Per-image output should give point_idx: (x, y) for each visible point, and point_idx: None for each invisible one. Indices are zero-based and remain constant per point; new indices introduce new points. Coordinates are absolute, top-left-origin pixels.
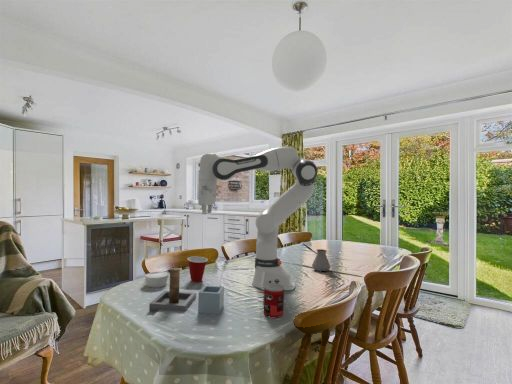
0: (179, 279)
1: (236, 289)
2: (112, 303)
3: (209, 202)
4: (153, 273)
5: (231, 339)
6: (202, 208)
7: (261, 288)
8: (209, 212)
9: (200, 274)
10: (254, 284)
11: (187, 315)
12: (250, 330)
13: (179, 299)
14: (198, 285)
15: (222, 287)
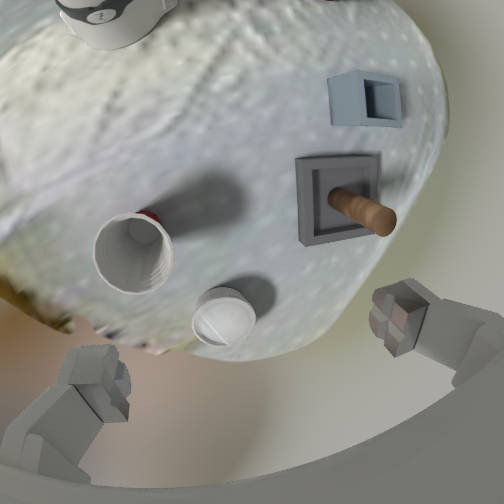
0: (366, 201)
1: (185, 73)
2: (340, 309)
3: (493, 418)
4: (207, 340)
5: (418, 61)
6: (462, 349)
7: (170, 8)
8: (116, 360)
9: (152, 216)
10: (144, 31)
11: (373, 147)
12: (391, 31)
13: (319, 193)
14: (185, 199)
15: (363, 74)
